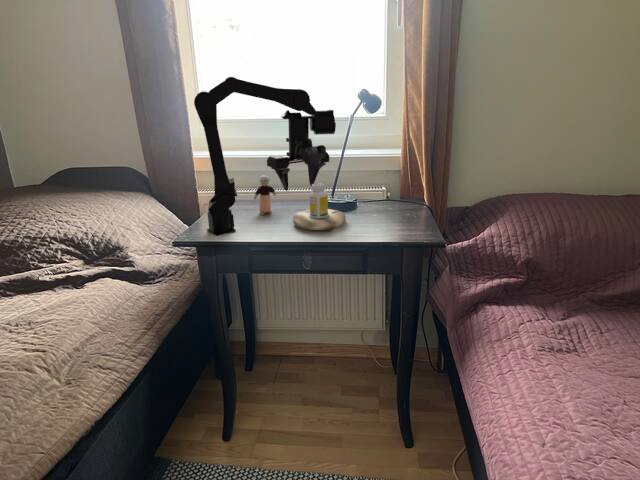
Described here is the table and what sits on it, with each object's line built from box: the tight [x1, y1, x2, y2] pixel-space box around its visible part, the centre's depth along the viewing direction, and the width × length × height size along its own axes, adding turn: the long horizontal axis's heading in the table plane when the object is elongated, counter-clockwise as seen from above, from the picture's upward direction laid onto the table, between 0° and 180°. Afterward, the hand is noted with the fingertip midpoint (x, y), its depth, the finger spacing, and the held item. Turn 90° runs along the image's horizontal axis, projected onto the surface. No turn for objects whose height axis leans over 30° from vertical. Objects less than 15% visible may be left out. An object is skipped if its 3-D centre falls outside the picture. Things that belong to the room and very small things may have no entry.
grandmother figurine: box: [253, 175, 277, 216], centre depth 151 cm, size 8×4×13 cm, turn 129°
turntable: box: [292, 208, 347, 231], centre depth 140 cm, size 16×16×2 cm
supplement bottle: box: [309, 182, 329, 218], centre depth 138 cm, size 5×5×10 cm
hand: (299, 188), depth 137 cm, fingers open, 9 cm apart
